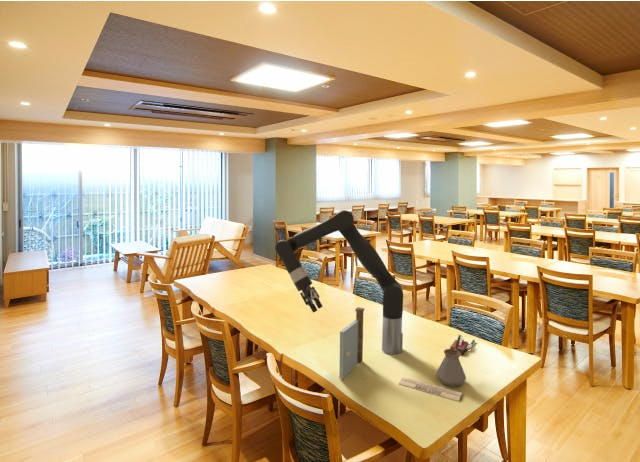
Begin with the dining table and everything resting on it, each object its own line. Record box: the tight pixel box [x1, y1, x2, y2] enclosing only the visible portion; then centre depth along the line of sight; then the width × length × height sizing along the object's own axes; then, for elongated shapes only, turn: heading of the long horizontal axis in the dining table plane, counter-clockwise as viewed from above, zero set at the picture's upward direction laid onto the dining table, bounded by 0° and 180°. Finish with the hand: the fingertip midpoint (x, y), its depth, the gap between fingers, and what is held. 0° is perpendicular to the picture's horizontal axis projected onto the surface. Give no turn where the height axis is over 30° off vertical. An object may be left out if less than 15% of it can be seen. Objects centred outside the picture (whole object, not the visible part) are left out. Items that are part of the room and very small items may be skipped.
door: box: [338, 319, 359, 380], centre depth 167 cm, size 16×3×20 cm, turn 151°
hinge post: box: [355, 307, 365, 364], centre depth 176 cm, size 3×3×25 cm
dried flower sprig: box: [449, 338, 476, 356], centre depth 193 cm, size 9×4×20 cm
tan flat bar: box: [398, 376, 464, 402], centre depth 154 cm, size 24×7×2 cm, turn 58°
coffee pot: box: [436, 334, 467, 387], centre depth 164 cm, size 21×12×15 cm, turn 149°
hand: (318, 309), depth 178 cm, fingers open, 8 cm apart
